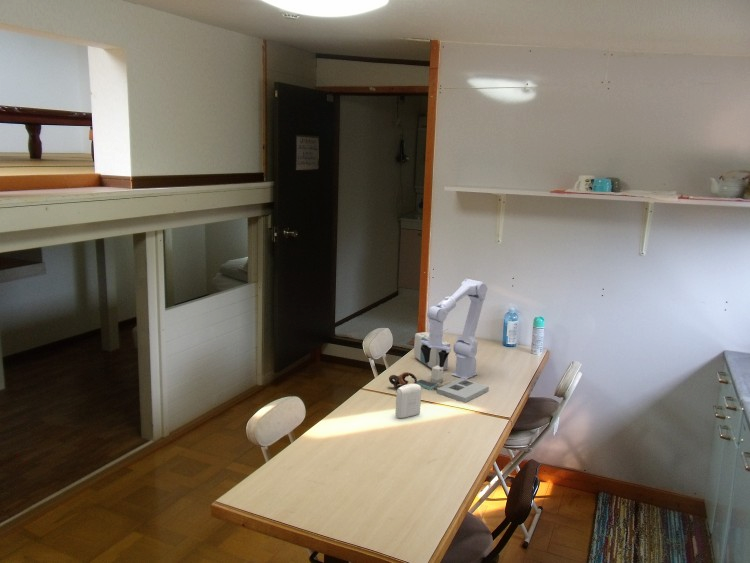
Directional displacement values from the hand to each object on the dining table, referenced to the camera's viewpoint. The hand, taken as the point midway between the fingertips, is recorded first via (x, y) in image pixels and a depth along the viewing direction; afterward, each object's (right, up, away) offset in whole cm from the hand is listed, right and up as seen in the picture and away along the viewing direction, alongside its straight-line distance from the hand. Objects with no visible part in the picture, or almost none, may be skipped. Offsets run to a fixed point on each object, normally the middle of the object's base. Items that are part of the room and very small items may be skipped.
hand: (434, 364), depth 265 cm
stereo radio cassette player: (+1, -4, +28) cm, 29 cm away
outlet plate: (+12, -11, -4) cm, 17 cm away
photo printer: (-13, -16, -29) cm, 35 cm away
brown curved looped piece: (-14, -10, -3) cm, 17 cm away
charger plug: (+2, -8, +7) cm, 11 cm away
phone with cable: (-2, -10, 0) cm, 10 cm away
